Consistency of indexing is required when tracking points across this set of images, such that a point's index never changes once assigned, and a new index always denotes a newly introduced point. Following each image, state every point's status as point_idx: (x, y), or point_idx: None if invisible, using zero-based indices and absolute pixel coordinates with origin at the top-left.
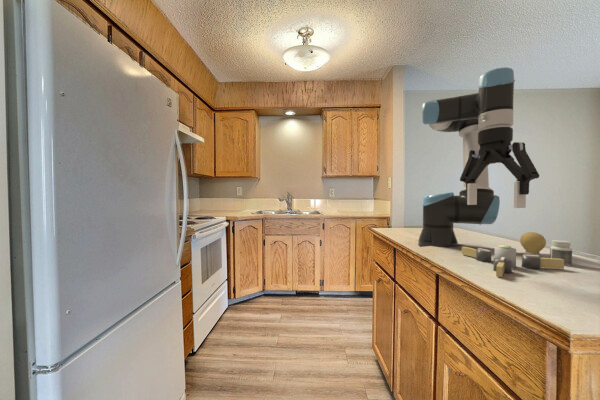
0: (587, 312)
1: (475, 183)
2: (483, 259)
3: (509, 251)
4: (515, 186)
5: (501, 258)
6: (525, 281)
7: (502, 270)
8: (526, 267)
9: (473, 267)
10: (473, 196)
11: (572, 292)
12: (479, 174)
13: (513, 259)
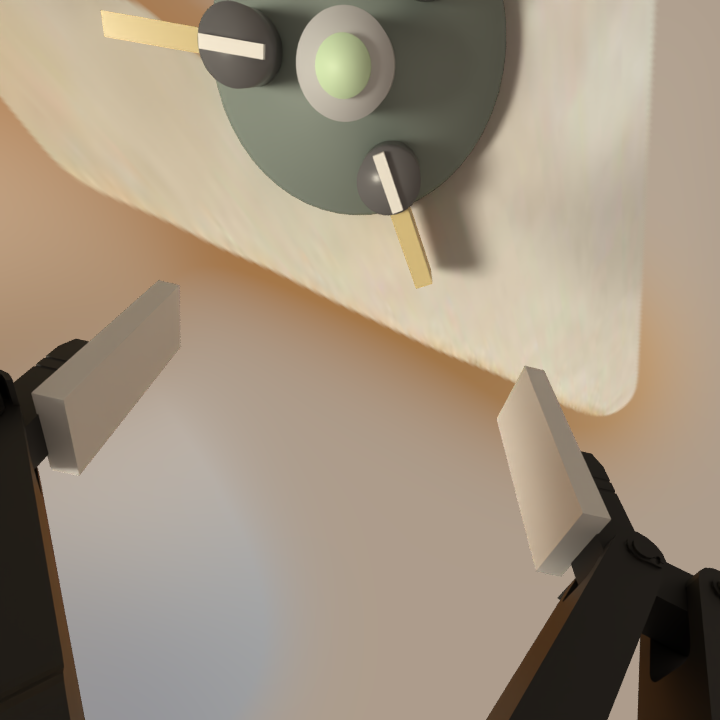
0: (629, 297)
1: (66, 416)
2: (265, 82)
3: (380, 102)
4: (536, 538)
5: (387, 192)
6: None
7: (429, 270)
8: (422, 1)
9: None
10: (147, 351)
11: (594, 145)
12: (38, 513)
13: (392, 79)
